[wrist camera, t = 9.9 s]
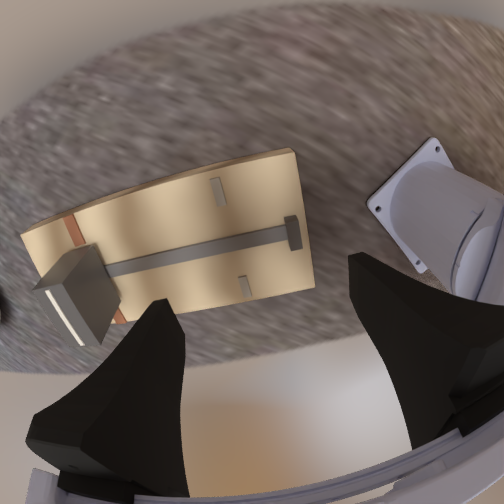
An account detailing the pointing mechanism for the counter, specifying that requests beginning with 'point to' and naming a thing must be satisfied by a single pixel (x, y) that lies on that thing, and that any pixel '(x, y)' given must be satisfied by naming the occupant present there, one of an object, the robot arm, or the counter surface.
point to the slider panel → (192, 236)
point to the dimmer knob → (78, 297)
